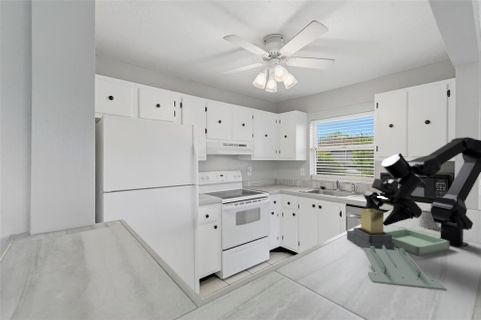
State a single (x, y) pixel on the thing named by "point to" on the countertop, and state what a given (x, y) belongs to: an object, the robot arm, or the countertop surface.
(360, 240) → the dark grey stepped fixture
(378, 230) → the tan note paper block
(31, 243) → the countertop surface
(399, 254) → the metal bracket
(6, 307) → the countertop surface
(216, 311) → the countertop surface
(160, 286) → the countertop surface
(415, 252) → the parts tray
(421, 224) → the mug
